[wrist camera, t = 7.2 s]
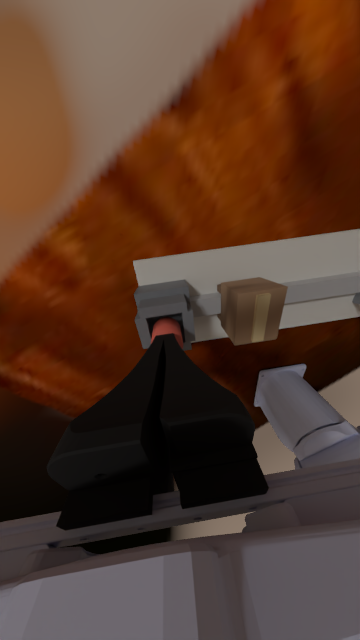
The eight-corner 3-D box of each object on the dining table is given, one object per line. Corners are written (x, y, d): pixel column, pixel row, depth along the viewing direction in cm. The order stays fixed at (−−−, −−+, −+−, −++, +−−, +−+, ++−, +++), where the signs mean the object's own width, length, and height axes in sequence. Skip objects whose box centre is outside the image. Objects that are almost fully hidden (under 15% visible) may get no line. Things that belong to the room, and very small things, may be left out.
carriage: (248, 315, 18) (278, 340, 14) (217, 320, 18) (236, 347, 13) (252, 274, 16) (290, 287, 11) (217, 280, 16) (239, 295, 11)
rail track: (360, 312, 21) (427, 335, 16) (155, 343, 21) (151, 379, 15) (403, 222, 16) (526, 210, 11) (134, 260, 16) (117, 268, 10)
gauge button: (181, 338, 13) (184, 355, 11) (155, 342, 13) (154, 360, 11) (178, 315, 12) (181, 329, 10) (150, 319, 12) (147, 334, 10)
